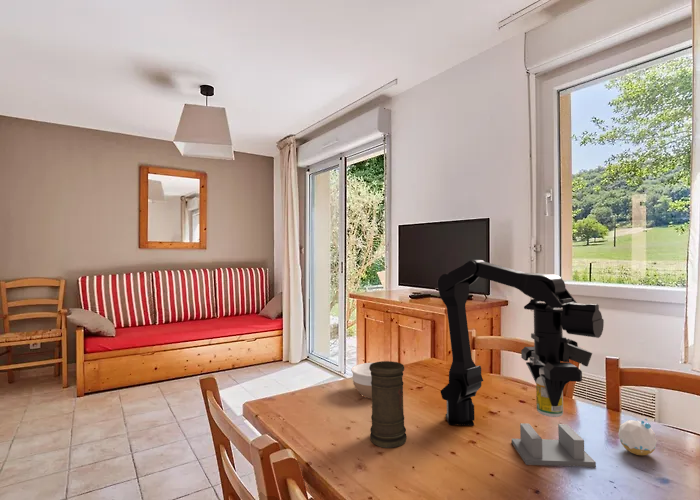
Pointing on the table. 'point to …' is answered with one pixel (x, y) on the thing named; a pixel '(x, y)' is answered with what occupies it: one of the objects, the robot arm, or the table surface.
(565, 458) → the holder
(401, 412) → the container
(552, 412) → the supplement bottle
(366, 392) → the bowl
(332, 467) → the table surface
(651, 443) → the ornament
